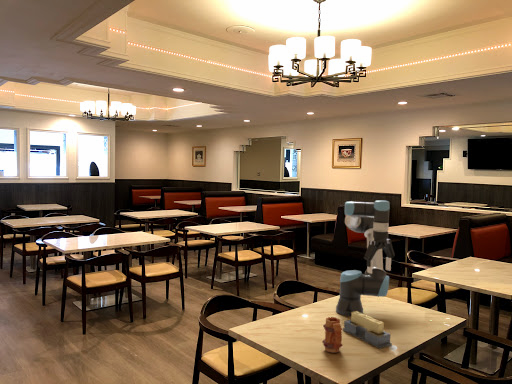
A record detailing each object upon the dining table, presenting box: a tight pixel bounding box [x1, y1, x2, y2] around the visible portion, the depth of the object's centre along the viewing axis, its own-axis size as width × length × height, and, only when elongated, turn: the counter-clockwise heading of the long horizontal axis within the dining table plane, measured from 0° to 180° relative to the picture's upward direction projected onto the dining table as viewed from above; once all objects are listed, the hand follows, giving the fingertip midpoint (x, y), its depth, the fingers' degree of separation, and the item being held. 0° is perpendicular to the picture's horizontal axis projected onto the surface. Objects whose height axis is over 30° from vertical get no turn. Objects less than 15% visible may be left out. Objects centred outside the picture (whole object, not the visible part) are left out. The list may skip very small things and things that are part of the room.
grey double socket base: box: [342, 319, 392, 350], centre depth 200 cm, size 24×8×5 cm, turn 31°
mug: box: [321, 316, 343, 353], centre depth 182 cm, size 15×8×15 cm, turn 5°
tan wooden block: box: [350, 311, 385, 335], centre depth 200 cm, size 18×4×9 cm, turn 31°
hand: (379, 271), depth 213 cm, fingers open, 13 cm apart
